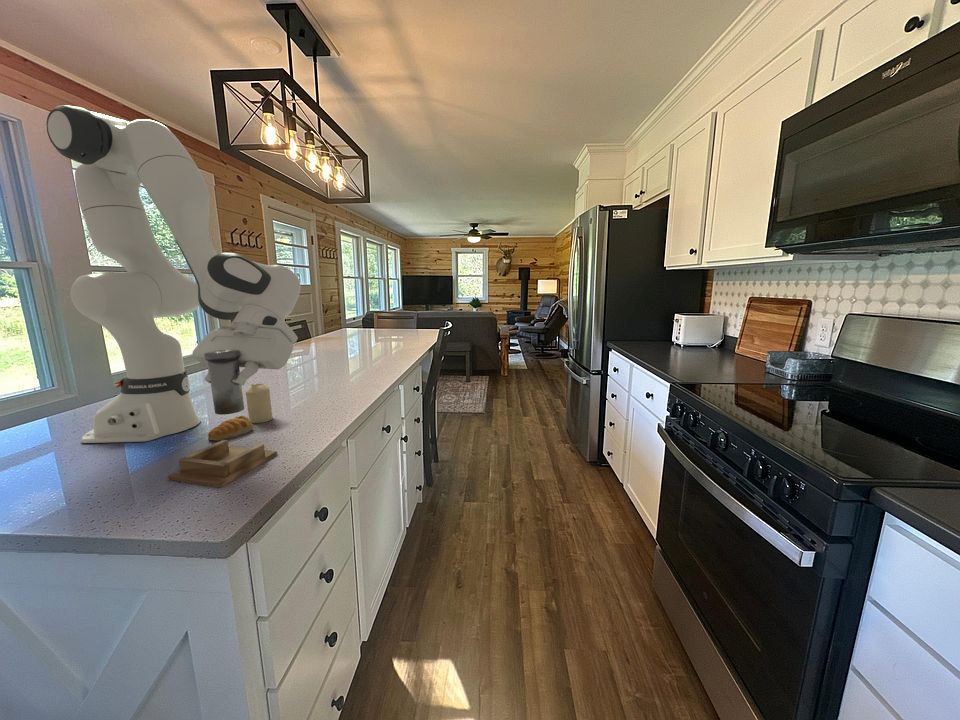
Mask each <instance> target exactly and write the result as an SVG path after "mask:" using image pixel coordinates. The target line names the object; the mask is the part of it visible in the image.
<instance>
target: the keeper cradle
mask: <svg viewBox="0 0 960 720" xmlns="http://www.w3.org/2000/svg"><path fill="white" fill-rule="evenodd" d="M277 455H278V451H277V450H270V449H265V444H263V443H258V444H255V445H254V446H253V447H243V446H235V445H230V446H229V440H228V439H225V440H221V441H217V442H215V443H213V444H211V445H209V446H206V447H204V448H202V449H200V450H198V451H195V452H193V453H190V454H189V455H187V456H184V457H182V458H180V459H178V467H179V470H178V471H175V472H173V473H172V474H169V475H167V480H168V479H169V480H168V481H172V480H175V481H174V482H178V481H182V482H181V483H185V482H187V483H186V484H193V485H199V484H200V485H201V486H206V487H207V486H208V487H214V488H220V489H221V488H222V487H224V486H226V485H227V484H229V483H230V482H233V481H234V480H236V479H238V478H239V477H241V476H243V475H245V474H247V473H248V472H250V471H252V470H253V469H255V468H257V467H258V466H260V465H262V464H263V463H265V462H267V461H269V460H270V459H272V458H273V457H275V456H277ZM200 485H199V486H200Z"/></svg>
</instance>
